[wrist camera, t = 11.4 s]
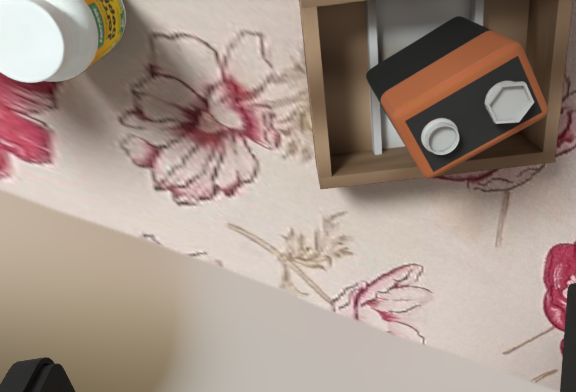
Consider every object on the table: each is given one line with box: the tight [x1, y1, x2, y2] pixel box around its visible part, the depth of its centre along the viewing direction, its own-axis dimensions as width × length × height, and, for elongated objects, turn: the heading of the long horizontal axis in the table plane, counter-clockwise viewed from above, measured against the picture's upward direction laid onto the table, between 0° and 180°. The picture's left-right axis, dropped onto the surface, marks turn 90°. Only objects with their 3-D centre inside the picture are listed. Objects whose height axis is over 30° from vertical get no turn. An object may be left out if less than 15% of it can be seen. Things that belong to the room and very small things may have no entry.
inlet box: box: [299, 0, 573, 189], centre depth 34 cm, size 12×15×4 cm
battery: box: [366, 16, 548, 178], centre depth 29 cm, size 4×7×10 cm, turn 122°
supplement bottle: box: [0, 0, 126, 83], centre depth 29 cm, size 5×5×10 cm
